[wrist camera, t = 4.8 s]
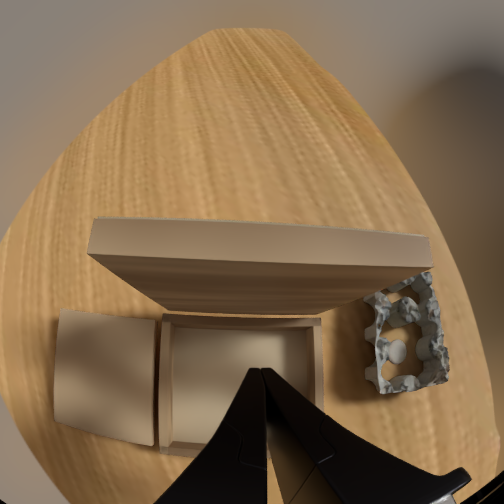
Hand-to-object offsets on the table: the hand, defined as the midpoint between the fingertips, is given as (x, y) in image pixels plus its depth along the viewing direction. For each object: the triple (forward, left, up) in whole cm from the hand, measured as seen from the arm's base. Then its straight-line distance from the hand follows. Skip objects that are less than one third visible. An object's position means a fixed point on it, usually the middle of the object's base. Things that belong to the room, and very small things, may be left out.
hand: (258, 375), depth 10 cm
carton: (-3, +3, -10) cm, 11 cm away
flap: (+3, +2, -8) cm, 9 cm away
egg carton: (+10, -10, -11) cm, 18 cm away
